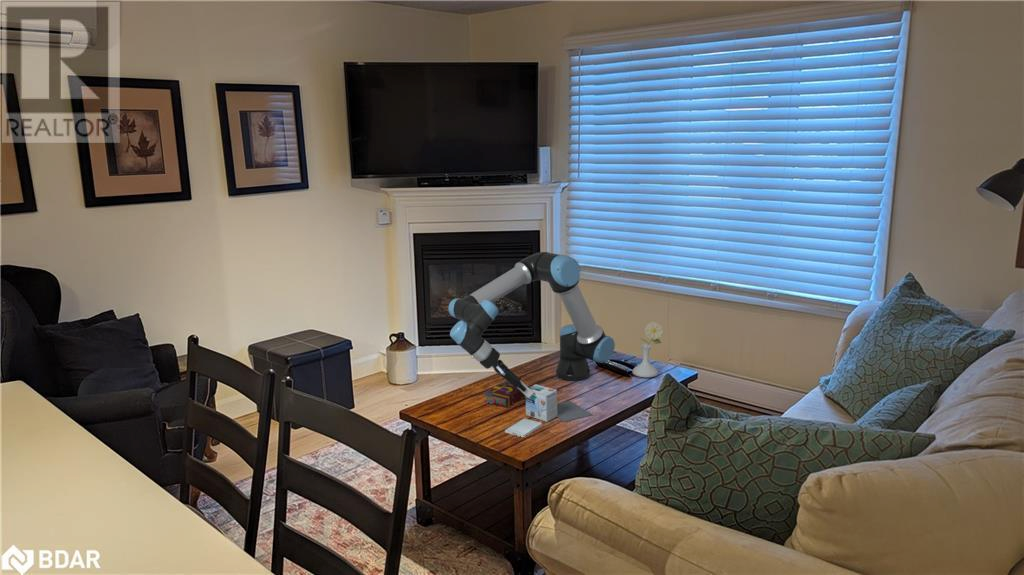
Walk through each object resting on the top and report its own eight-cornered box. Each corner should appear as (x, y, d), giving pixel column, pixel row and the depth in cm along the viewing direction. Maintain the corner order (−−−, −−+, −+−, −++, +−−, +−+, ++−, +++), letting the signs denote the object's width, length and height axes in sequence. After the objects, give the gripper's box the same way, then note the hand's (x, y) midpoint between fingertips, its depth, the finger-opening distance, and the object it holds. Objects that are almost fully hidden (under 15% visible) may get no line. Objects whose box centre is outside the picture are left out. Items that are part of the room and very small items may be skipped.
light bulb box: (525, 415, 264) (524, 388, 262) (536, 409, 269) (535, 383, 267) (547, 422, 257) (546, 395, 255) (558, 416, 262) (557, 389, 260)
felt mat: (569, 401, 278) (569, 400, 278) (593, 415, 264) (593, 414, 264) (542, 407, 272) (542, 407, 271) (564, 422, 258) (564, 421, 258)
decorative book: (527, 397, 284) (527, 385, 282) (505, 410, 270) (505, 398, 269) (505, 391, 290) (505, 380, 289) (482, 404, 277) (482, 392, 276)
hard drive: (523, 418, 259) (504, 429, 249) (542, 423, 255) (523, 434, 245) (523, 422, 260) (504, 433, 250) (542, 427, 255) (523, 439, 245)
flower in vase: (629, 378, 304) (631, 323, 299) (635, 370, 314) (637, 316, 309) (659, 381, 299) (661, 326, 294) (664, 373, 309) (666, 319, 304)
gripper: (476, 356, 259) (520, 395, 265) (480, 367, 246) (526, 408, 252) (490, 342, 258) (534, 381, 265) (495, 352, 246) (541, 393, 252)
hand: (530, 394), depth 258 cm, fingers closed
